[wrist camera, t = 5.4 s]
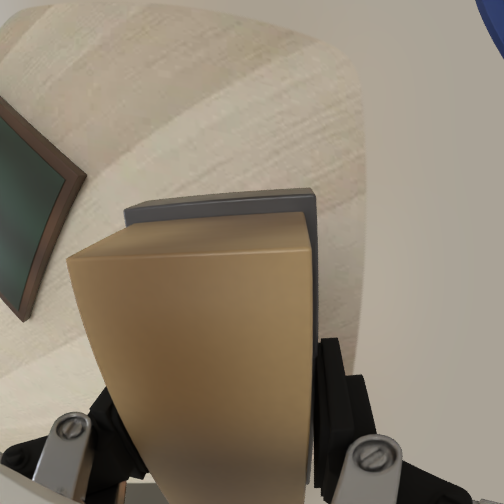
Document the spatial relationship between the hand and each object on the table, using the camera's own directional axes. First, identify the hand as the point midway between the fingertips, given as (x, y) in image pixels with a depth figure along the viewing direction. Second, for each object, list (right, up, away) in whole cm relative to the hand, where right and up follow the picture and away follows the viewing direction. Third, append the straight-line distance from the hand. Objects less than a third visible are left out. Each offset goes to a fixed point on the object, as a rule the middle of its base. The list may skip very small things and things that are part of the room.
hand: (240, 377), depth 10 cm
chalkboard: (-27, +10, +13) cm, 32 cm away
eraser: (0, 0, +1) cm, 1 cm away
